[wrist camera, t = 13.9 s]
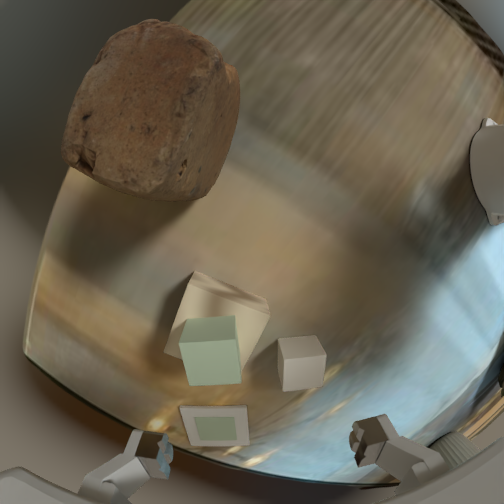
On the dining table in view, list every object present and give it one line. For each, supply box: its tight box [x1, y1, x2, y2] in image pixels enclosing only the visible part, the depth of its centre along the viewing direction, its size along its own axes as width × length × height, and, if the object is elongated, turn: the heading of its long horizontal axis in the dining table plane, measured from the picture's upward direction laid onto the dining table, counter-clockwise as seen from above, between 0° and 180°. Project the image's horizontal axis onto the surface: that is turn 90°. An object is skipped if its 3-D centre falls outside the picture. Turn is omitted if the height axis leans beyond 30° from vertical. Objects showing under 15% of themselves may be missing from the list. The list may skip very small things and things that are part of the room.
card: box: [180, 405, 250, 446], centre depth 36 cm, size 10×10×1 cm
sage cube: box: [179, 315, 242, 386], centre depth 25 cm, size 5×5×5 cm
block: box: [61, 19, 240, 201], centre depth 18 cm, size 11×8×20 cm
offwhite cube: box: [277, 335, 327, 392], centre depth 32 cm, size 5×5×5 cm
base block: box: [163, 271, 271, 372], centre depth 30 cm, size 9×9×5 cm
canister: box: [429, 432, 481, 470], centre depth 35 cm, size 18×18×21 cm
